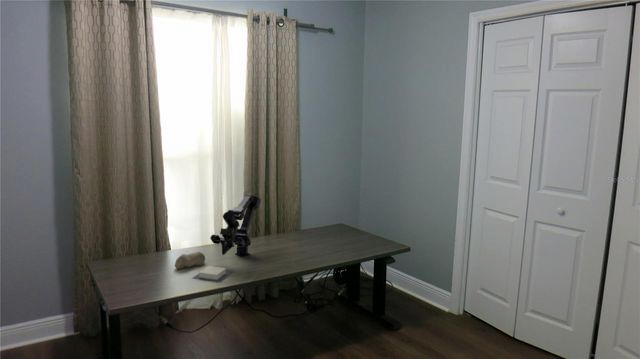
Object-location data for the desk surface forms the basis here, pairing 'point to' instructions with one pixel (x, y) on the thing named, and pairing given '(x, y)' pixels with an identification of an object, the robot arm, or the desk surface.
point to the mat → (228, 273)
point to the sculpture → (190, 260)
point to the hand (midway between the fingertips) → (222, 254)
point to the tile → (212, 273)
